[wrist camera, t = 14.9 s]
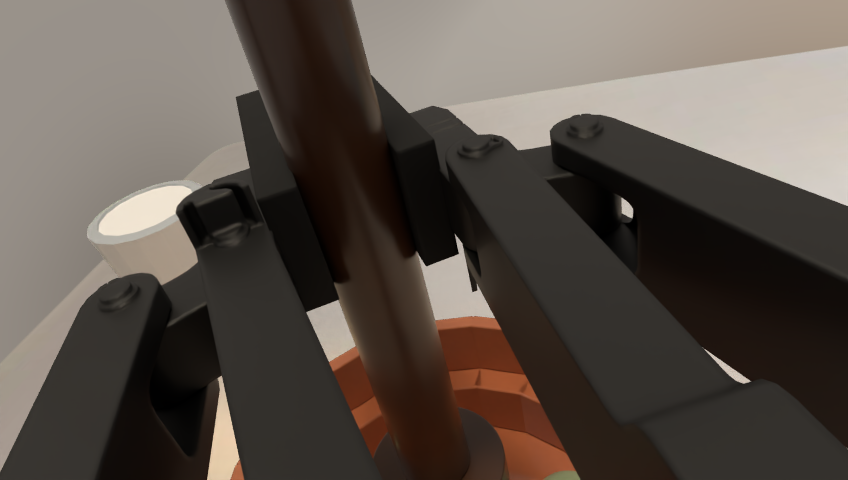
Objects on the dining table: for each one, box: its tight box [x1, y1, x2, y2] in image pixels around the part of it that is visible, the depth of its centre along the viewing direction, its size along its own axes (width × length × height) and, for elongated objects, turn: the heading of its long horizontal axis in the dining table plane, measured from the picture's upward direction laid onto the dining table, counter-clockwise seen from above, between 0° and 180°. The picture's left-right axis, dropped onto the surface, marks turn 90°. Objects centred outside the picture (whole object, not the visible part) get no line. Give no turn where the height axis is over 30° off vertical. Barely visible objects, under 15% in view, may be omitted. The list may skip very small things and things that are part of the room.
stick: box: [225, 0, 510, 480], centre depth 13 cm, size 4×4×18 cm
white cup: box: [87, 181, 202, 285], centre depth 36 cm, size 7×7×7 cm
